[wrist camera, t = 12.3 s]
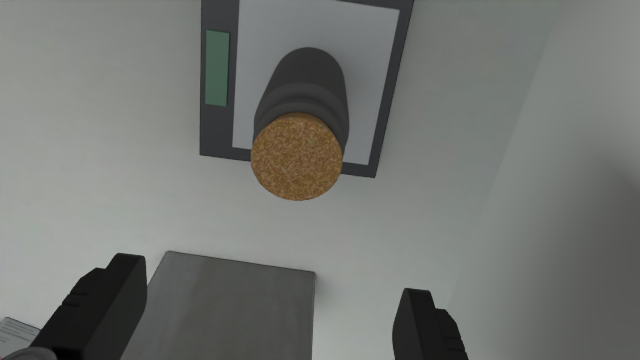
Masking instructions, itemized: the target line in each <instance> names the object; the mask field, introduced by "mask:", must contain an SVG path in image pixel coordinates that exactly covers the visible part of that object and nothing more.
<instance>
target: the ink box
mask: <svg viewBox="0 0 640 360" xmlns="http://www.w3.org/2000/svg"><path fill="white" fill-rule="evenodd" d="M40 331H41V330H39V329H36V328H33V327H31V326H28V325H25V324H23V323H20V322H17V321H15V320H12V319H10V318H7V317H6V318H5V319H4V320H3V321H2V322H1V323H0V360H1V359H3V358H4V357H6V356H7V355H9V354H11V353H13V352H15V351H18V350H20V349H24V348H28V347H29V345H30V344H31V343H32V342H33V340H34V339H35V338H36V336H37V335H38V334H39V332H40Z"/></svg>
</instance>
